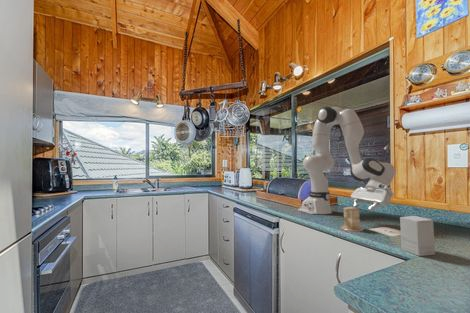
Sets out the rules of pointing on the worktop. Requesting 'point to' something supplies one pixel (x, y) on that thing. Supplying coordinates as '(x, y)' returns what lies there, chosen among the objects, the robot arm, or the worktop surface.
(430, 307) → the worktop surface
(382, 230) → the card
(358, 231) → the coaster
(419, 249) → the supplement box
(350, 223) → the maple block
